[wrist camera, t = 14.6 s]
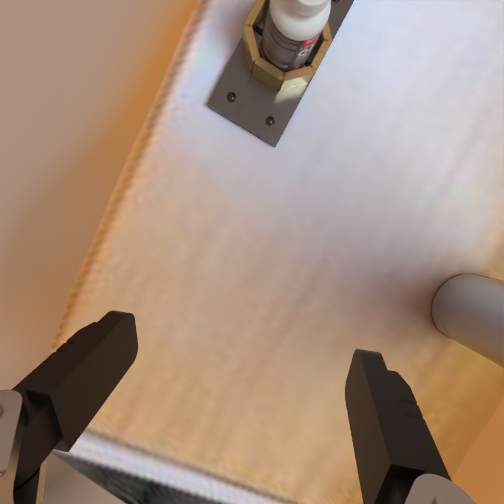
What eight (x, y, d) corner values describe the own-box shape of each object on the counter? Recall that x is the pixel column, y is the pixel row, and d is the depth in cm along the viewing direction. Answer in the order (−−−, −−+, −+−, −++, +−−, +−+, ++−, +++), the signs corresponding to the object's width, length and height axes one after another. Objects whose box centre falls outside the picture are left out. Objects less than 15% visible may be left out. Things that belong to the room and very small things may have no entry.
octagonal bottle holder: (289, -54, 30) (297, -86, 27) (356, -5, 32) (371, -30, 28) (208, 106, 32) (206, 94, 28) (274, 147, 33) (280, 140, 30)
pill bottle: (296, 84, 31) (328, 28, 22) (252, 63, 31) (265, -5, 21) (315, 36, 31) (356, -43, 21) (270, 13, 30) (292, -80, 21)
